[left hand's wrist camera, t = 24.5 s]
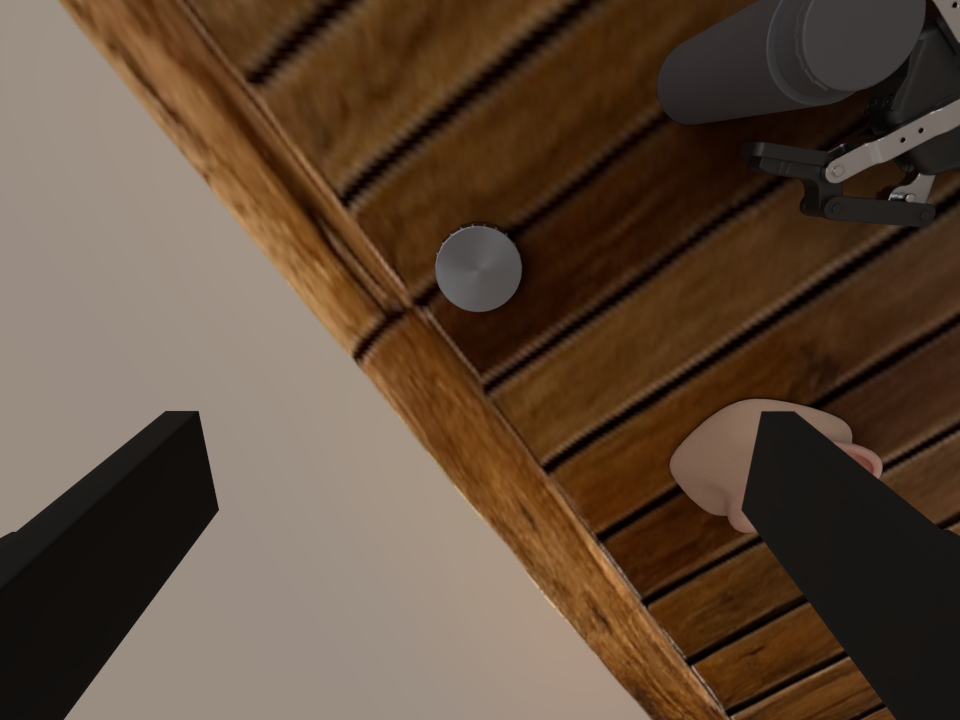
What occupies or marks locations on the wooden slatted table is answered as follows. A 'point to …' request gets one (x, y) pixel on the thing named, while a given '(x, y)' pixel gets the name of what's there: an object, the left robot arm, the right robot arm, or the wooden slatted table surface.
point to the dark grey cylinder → (787, 57)
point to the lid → (478, 267)
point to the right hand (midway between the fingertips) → (773, 59)
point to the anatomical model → (745, 454)
